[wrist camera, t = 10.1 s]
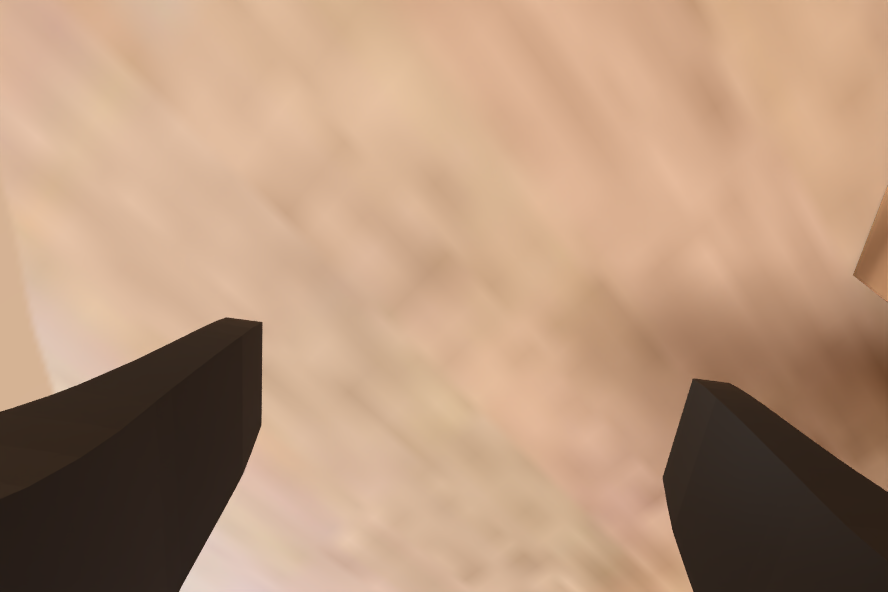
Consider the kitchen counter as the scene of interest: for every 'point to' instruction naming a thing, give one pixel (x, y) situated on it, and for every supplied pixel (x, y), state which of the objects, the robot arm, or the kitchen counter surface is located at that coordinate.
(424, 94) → the kitchen counter surface
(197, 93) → the kitchen counter surface
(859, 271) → the slotted wooden block
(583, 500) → the kitchen counter surface
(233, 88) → the kitchen counter surface
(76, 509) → the robot arm
